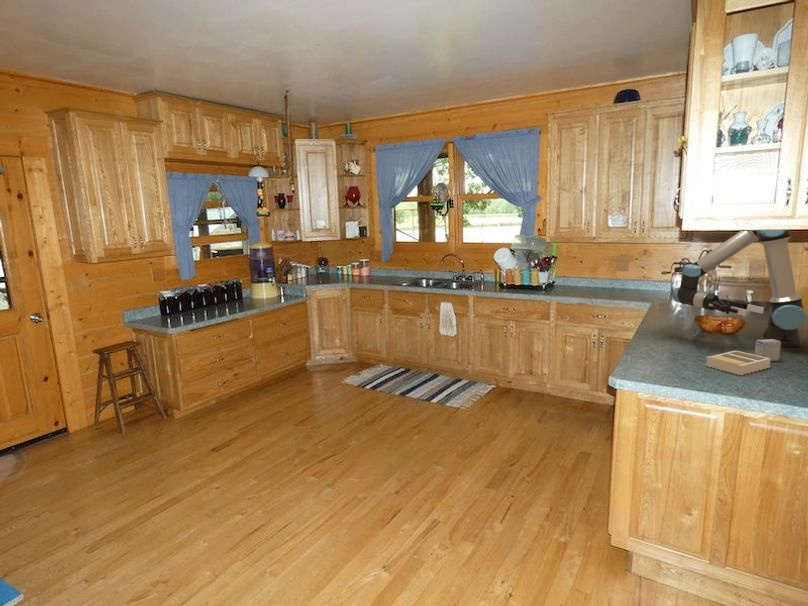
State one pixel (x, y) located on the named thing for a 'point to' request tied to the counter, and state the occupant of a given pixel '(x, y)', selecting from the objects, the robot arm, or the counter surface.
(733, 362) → the board
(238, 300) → the counter surface
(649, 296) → the counter surface
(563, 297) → the counter surface
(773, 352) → the medicine box
